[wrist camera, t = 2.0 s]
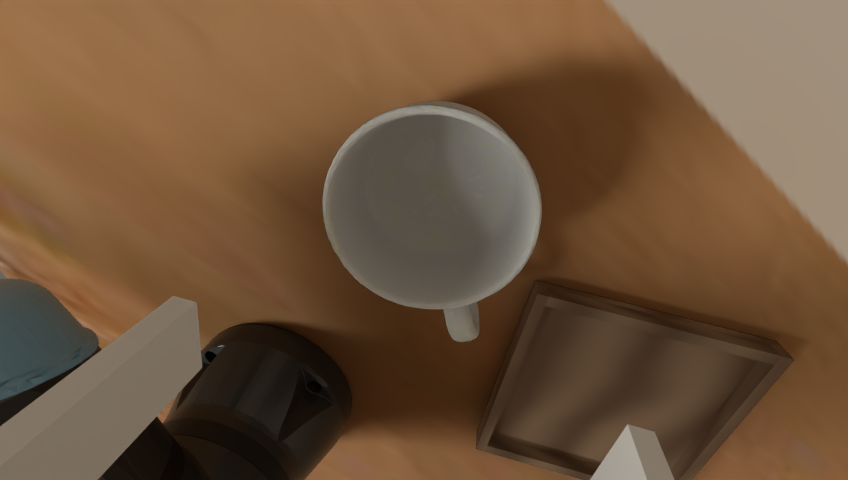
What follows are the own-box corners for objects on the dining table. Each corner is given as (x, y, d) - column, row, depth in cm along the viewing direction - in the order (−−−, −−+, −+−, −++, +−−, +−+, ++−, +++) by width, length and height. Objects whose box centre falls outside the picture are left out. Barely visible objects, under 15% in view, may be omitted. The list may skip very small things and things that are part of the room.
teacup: (357, 96, 25) (300, 114, 18) (533, 82, 23) (549, 97, 16) (384, 283, 31) (349, 353, 24) (526, 286, 29) (535, 364, 21)
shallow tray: (476, 431, 36) (475, 448, 34) (535, 280, 28) (537, 293, 27) (662, 483, 35) (670, 504, 33) (777, 341, 27) (794, 359, 25)
